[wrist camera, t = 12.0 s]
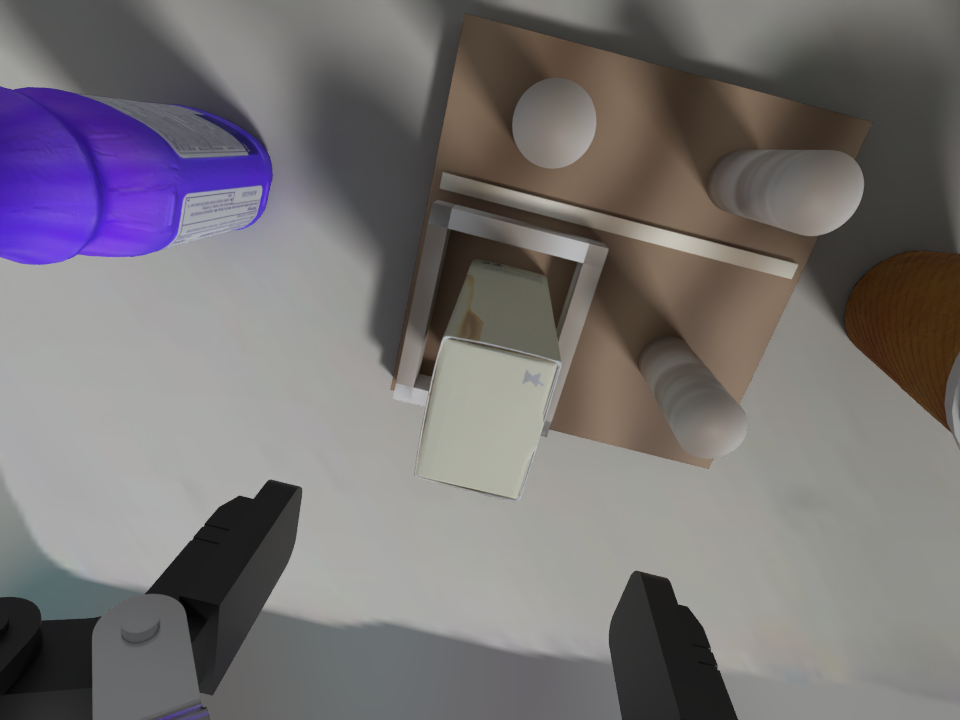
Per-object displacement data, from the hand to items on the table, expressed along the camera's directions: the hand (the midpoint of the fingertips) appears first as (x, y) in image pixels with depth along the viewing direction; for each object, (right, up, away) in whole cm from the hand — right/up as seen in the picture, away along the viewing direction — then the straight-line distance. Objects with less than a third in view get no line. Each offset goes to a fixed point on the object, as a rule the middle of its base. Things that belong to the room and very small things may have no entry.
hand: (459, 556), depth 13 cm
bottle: (-14, +15, +18) cm, 27 cm away
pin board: (+7, +10, +18) cm, 22 cm away
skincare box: (+1, +7, +18) cm, 19 cm away
